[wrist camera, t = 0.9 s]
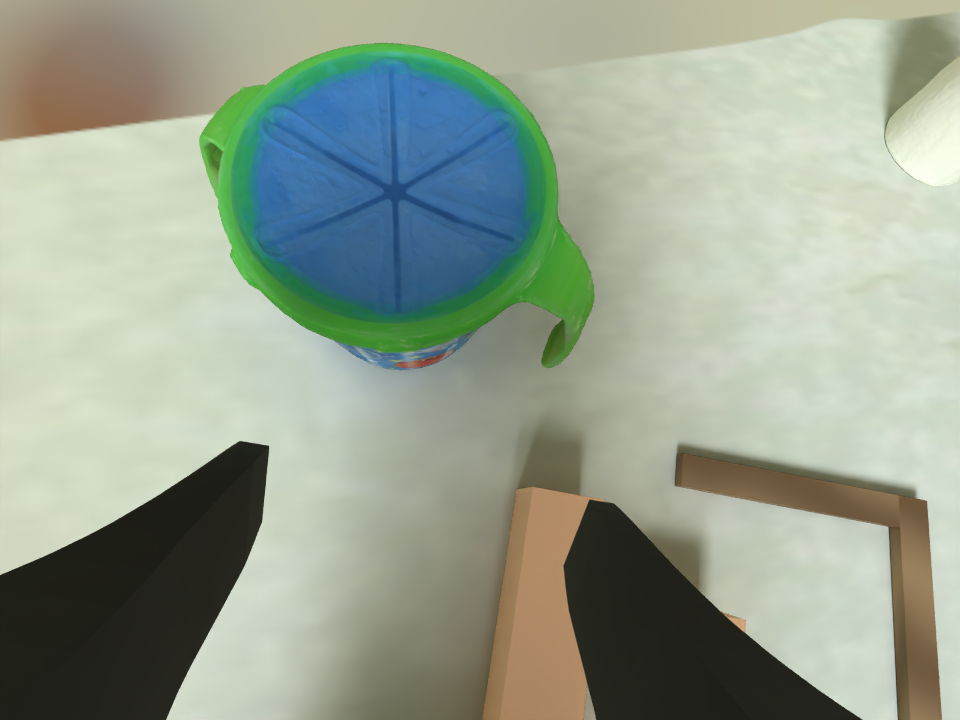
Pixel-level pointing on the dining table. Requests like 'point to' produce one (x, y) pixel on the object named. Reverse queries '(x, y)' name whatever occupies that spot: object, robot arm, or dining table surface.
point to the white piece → (929, 130)
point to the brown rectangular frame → (906, 545)
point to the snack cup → (395, 203)
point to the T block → (539, 615)
